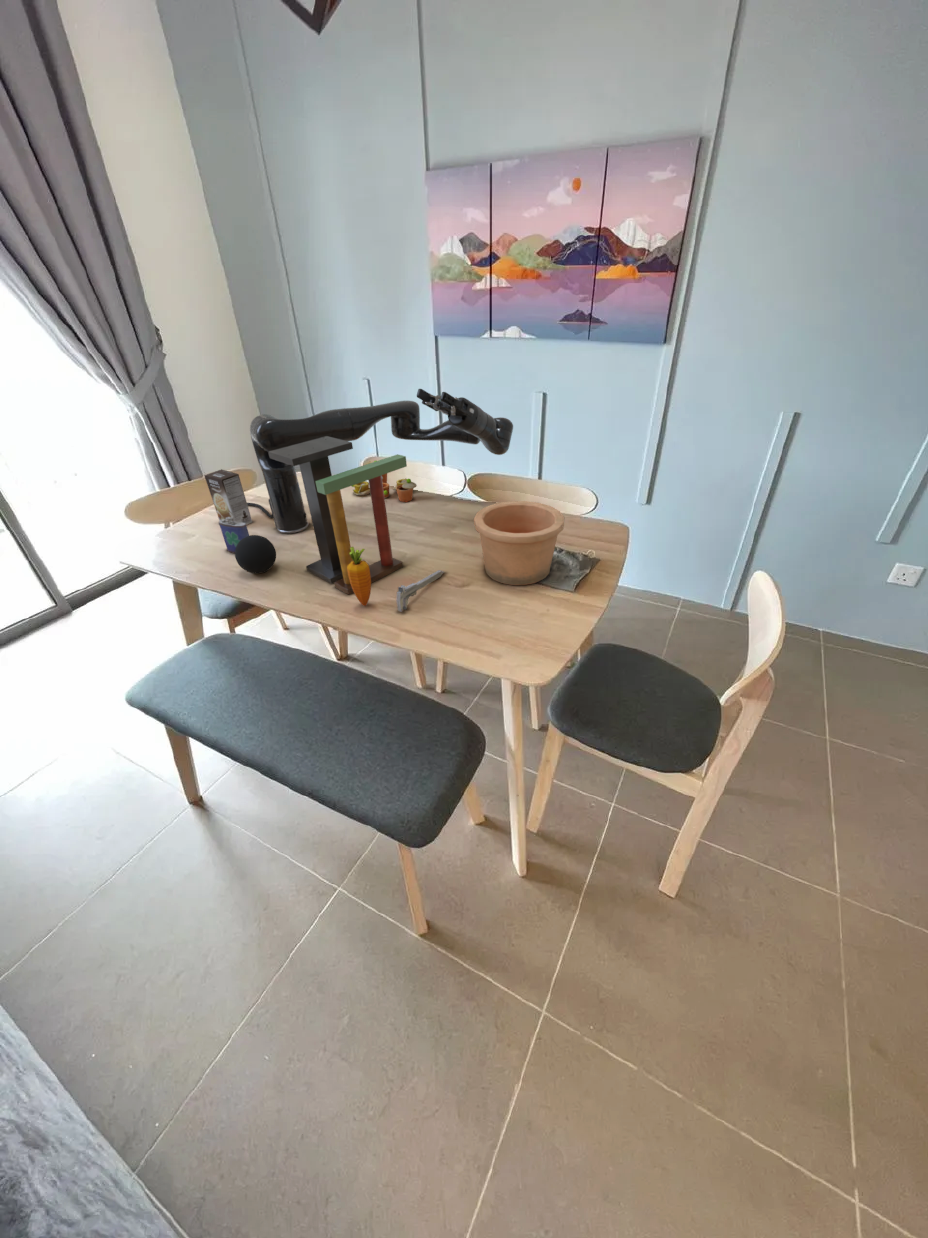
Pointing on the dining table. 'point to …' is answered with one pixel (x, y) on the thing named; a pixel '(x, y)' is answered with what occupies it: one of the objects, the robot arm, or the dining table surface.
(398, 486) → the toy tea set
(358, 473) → the bar
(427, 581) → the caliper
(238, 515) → the coffee box
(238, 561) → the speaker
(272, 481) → the robot arm
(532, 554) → the pottery
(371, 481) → the rod rack
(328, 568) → the stand
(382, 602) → the dining table surface
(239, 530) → the blue clover container
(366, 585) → the carrot
